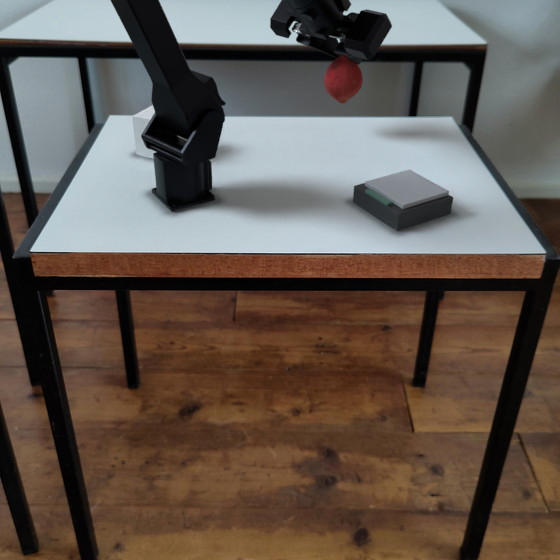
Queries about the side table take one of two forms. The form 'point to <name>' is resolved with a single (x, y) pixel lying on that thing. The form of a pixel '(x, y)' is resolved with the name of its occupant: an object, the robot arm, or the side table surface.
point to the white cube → (139, 125)
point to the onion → (343, 79)
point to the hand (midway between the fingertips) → (350, 59)
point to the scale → (403, 199)
